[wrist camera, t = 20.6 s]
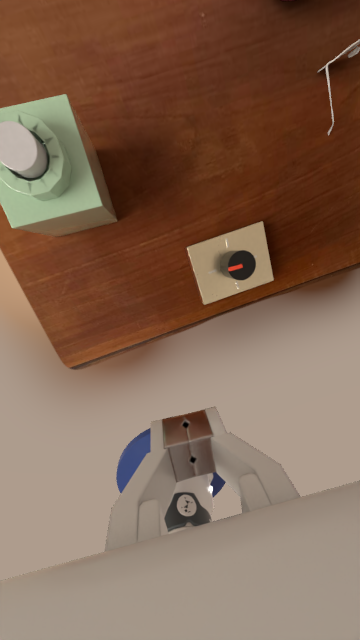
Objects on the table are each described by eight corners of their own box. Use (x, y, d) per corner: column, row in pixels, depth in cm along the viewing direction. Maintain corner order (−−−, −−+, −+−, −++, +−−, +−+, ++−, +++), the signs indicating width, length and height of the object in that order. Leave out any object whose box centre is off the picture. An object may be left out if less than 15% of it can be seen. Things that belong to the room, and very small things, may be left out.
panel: (265, 278, 41) (274, 280, 38) (200, 301, 41) (204, 305, 38) (254, 223, 38) (263, 220, 35) (184, 247, 38) (186, 247, 35)
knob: (242, 247, 36) (254, 246, 32) (246, 274, 37) (258, 276, 33) (217, 254, 36) (226, 254, 32) (222, 280, 37) (231, 284, 33)
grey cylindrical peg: (54, 173, 21) (44, 165, 19) (17, 182, 21) (3, 175, 19) (37, 129, 20) (25, 115, 18) (-2, 138, 20) (-18, 125, 18)
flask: (117, 221, 35) (97, 200, 22) (56, 237, 35) (-3, 225, 21) (95, 149, 32) (56, 74, 19) (27, 165, 32) (-62, 100, 18)
